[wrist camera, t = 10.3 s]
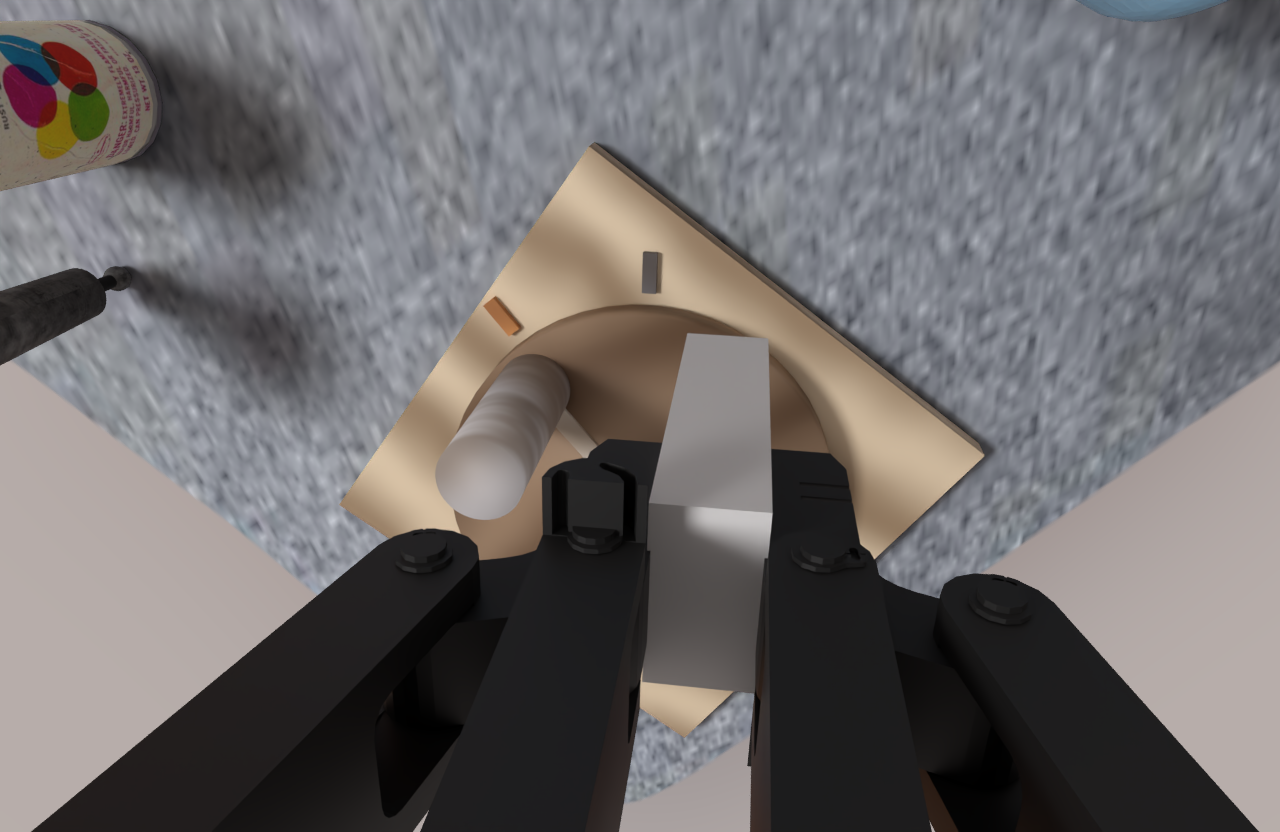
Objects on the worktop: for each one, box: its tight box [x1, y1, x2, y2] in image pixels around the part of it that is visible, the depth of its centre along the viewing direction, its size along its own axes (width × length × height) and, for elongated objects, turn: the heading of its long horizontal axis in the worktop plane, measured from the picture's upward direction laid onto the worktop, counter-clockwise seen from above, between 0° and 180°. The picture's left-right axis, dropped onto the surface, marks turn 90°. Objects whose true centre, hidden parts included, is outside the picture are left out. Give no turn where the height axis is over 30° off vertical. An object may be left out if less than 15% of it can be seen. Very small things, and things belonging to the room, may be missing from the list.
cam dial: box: [435, 304, 829, 560], centre depth 44 cm, size 20×20×12 cm
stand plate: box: [339, 142, 985, 738], centre depth 50 cm, size 25×25×2 cm
